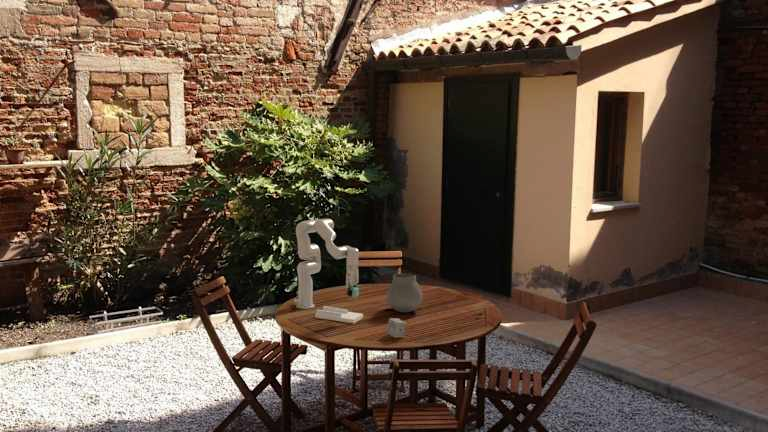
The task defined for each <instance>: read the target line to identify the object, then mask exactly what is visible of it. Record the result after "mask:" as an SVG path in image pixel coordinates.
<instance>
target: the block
mask: <svg viewBox="0 0 768 432" xmlns="http://www.w3.org/2000/svg"><path fill="white" fill-rule="evenodd" d="M359 296H360V288H359V287H357V286H356V287H352V296H349V297H351V298H357V297H359Z"/></svg>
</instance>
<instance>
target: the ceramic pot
mask: <svg viewBox="0 0 768 432" xmlns="http://www.w3.org/2000/svg"><path fill="white" fill-rule="evenodd" d="M392 277H393V278H392V282H391V283H390V284H389V286H388V288H387V291H386V293H385V295H386V301H387V303H388V304H389V306H390V307H391V308H392V309H393V310H395V311H396V312H400V313H411V312H413V311H414V310H416V309H417V308H418V307H419V306H420V305H421V303H422V302H423V293H422V288H421V286H420V285H419V283H418V282H417V276H416V275H415V274H408V273H395V274H393V276H392Z"/></svg>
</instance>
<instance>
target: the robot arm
mask: <svg viewBox="0 0 768 432" xmlns="http://www.w3.org/2000/svg"><path fill="white" fill-rule="evenodd" d="M334 228H335V224H334V221H333V220H332V219H330V218H316V219H309V220H303V221H300V222H299V223H298V224H297V225H296V227H295V234H296V240H297V250H298V251H297V252H298V253H297V254H298V258H300V260H304V261H300V262H299V263H298V264H297V266H296V271H297V276H298V299H297V298H294V299H293V303H296V305H295V306H296V308H297V309H301V310H302V309H303V310H309V309H313V308H315V307H316V306H315V303H313V297H314V296H313V293H314V291H313V288H314V286H313V278H312V276H311V275H313V274H316V273H320V271H321V268H322V259H321V258H322V257H321V249H320V247H319V245H317V244H316V243H311V238H310V236H309V234H310V233H317V234H318V235H319V236H320V237H321V238H322V239H323V240H324V241H325V248H326V251H327V252H328V253H329V254H330V255H331V256H332V257H333V258H334V259H336V260H340V259H344V258H346V274H345V278H346V279H345V287H346V290H347V291H346V293H347V294H346V295H347V296H348V297H350V296H352V287H356V288H357V285H358V283H359V282H360V281H359V278H360V277H359V255H360V254H359V249H358V248H357V247H352V246H350V245H342V246H337V245H335V243H334V242H333V241H334V240H335V239H336V237H337V234H336V232H335V231H334Z"/></svg>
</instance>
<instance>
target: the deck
mask: <svg viewBox="0 0 768 432" xmlns="http://www.w3.org/2000/svg"><path fill="white" fill-rule="evenodd" d="M322 307H323V308H322V309H316V313H314V318H317V319H322V320H329V321H330V320H331V321H335V322H336V321H337V322H343V323H349V324H356V323H357V322H359V321H360V320H362V319H363V318H364V313H360V312H352V311H349V309H345V308H341V307H340V308H339V307H331V306H326V305H325V306H324V305H323V306H322Z"/></svg>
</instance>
